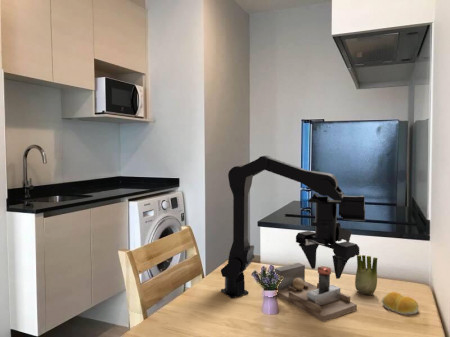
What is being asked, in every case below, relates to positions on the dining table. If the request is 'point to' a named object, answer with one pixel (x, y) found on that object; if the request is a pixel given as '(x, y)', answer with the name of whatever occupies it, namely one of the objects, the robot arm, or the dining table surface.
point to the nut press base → (300, 296)
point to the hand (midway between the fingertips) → (325, 273)
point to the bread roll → (400, 303)
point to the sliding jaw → (324, 289)
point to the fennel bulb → (366, 275)
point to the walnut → (298, 283)
